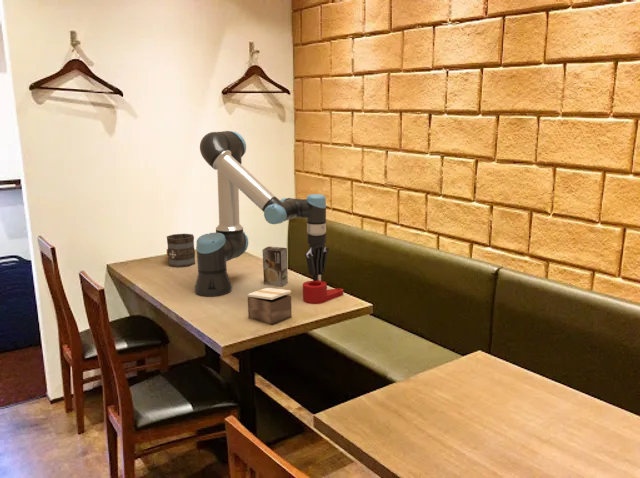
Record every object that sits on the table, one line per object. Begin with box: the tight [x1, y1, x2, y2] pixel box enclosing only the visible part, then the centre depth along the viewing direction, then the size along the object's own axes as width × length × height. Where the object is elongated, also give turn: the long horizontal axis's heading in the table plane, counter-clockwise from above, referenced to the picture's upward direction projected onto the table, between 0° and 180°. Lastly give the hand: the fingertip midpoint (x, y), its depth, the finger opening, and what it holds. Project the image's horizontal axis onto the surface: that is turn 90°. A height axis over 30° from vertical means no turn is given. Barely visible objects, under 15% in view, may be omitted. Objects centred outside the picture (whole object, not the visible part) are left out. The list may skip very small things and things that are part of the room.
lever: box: [302, 280, 344, 305], centre depth 225 cm, size 18×9×7 cm, turn 122°
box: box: [247, 294, 293, 326], centre depth 204 cm, size 12×10×8 cm
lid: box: [247, 287, 292, 300], centre depth 203 cm, size 12×10×1 cm
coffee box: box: [262, 246, 289, 288], centre depth 243 cm, size 9×6×16 cm
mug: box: [166, 233, 196, 269], centre depth 276 cm, size 20×14×15 cm
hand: (317, 290), depth 230 cm, fingers closed
